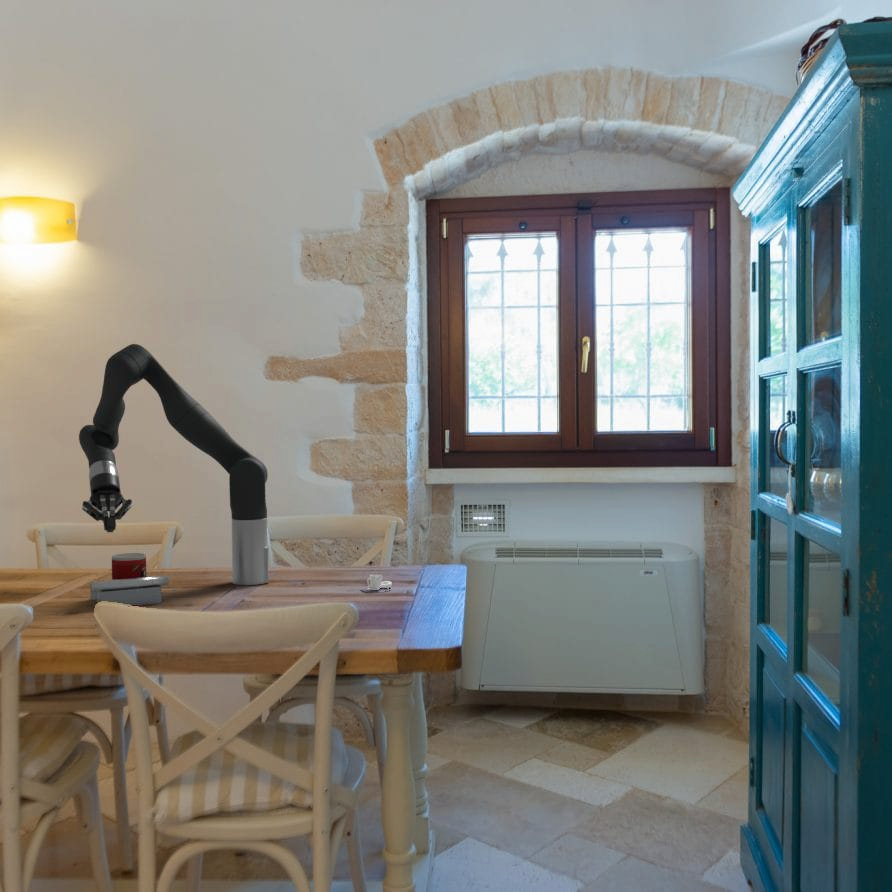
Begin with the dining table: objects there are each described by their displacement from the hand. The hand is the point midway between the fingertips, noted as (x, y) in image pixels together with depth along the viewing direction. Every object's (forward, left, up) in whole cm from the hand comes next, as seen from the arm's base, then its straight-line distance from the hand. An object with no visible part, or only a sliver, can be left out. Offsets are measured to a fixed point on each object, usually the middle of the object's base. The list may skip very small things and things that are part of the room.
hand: (110, 530), depth 232 cm
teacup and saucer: (-68, +27, -16) cm, 75 cm away
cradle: (-5, +21, -15) cm, 26 cm away
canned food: (-5, +20, -15) cm, 26 cm away
